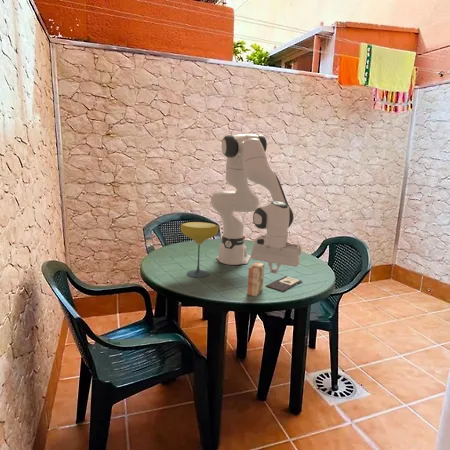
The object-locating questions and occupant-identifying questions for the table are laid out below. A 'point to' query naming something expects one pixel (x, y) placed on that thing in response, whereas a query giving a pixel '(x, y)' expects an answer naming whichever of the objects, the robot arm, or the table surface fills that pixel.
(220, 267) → the table surface
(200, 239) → the cocktail glass
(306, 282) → the table surface
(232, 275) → the table surface
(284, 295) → the table surface
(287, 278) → the chocolate bar
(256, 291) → the tan wooden block
